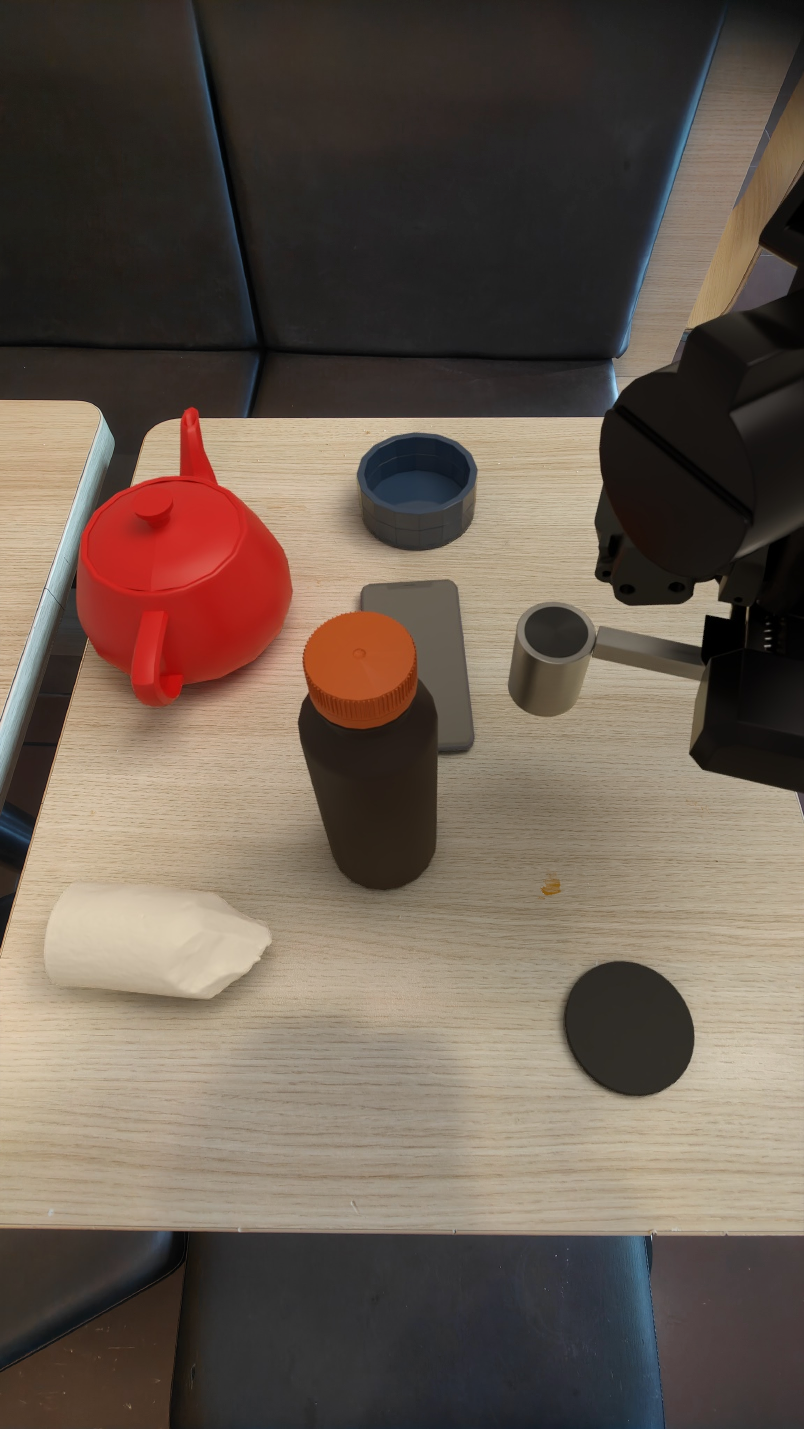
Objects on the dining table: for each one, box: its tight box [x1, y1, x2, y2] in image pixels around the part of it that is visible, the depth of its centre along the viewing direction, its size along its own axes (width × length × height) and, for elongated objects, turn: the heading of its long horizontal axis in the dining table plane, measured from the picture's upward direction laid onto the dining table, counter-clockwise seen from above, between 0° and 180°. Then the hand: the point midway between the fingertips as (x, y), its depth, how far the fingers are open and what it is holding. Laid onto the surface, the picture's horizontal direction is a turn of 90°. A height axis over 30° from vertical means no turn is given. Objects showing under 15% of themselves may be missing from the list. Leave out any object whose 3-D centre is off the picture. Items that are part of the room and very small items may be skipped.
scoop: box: [507, 601, 705, 718], centre depth 41 cm, size 15×4×6 cm, turn 73°
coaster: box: [563, 960, 695, 1097], centre depth 43 cm, size 7×7×1 cm
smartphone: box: [359, 578, 476, 752], centre depth 57 cm, size 8×1×15 cm
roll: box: [42, 879, 273, 1000], centre depth 44 cm, size 6×12×6 cm, turn 84°
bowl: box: [356, 431, 479, 551], centre depth 65 cm, size 10×10×4 cm
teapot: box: [75, 406, 294, 708], centre depth 56 cm, size 25×16×12 cm, turn 0°
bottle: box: [297, 610, 439, 892], centre depth 42 cm, size 7×7×20 cm
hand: (727, 695), depth 40 cm, fingers closed on scoop
